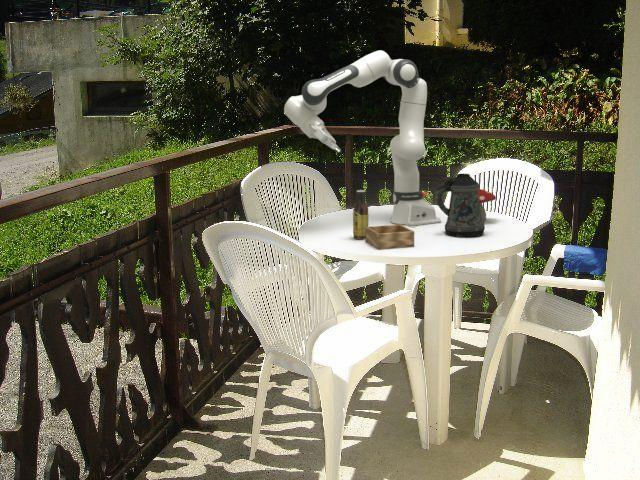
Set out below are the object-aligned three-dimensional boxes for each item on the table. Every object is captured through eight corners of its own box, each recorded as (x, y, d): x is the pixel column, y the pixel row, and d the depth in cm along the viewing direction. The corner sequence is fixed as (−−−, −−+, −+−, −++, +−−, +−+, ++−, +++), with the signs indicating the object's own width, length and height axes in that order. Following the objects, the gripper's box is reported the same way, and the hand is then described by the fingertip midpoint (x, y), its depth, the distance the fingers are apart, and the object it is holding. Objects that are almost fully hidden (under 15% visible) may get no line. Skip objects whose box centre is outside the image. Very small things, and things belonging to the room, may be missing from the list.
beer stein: (492, 235, 321) (494, 175, 315) (454, 240, 312) (455, 178, 307) (468, 228, 335) (469, 170, 330) (430, 233, 327) (431, 174, 321)
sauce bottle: (352, 237, 322) (351, 189, 317) (367, 236, 322) (367, 189, 318) (354, 240, 315) (354, 192, 311) (369, 239, 316) (369, 191, 312)
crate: (400, 238, 317) (400, 224, 316) (414, 246, 303) (414, 231, 301) (365, 241, 313) (365, 226, 312) (377, 249, 299) (377, 234, 298)
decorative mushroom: (467, 226, 340) (468, 192, 336) (453, 219, 355) (454, 186, 351) (501, 223, 343) (502, 190, 340) (486, 217, 358) (487, 185, 355)
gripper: (313, 117, 316) (337, 140, 314) (324, 125, 336) (347, 147, 334) (303, 129, 317) (327, 152, 315) (314, 136, 337) (337, 158, 334)
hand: (337, 149), depth 324 cm, fingers open, 8 cm apart
